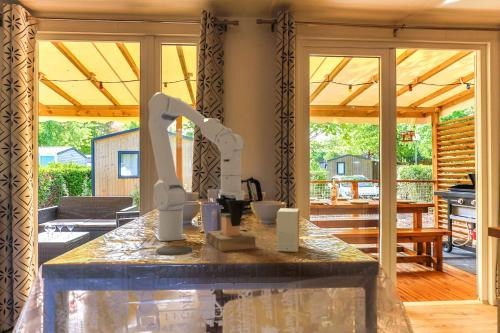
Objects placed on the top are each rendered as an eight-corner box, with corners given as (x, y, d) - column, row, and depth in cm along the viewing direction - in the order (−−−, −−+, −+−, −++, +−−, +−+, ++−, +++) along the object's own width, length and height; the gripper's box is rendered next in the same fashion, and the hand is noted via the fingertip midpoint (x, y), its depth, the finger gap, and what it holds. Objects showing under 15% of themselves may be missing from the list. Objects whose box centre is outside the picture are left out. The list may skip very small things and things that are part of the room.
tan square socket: (207, 241, 98) (207, 231, 98) (238, 239, 102) (239, 229, 102) (220, 251, 87) (220, 239, 87) (255, 247, 91) (255, 236, 91)
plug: (221, 244, 96) (221, 213, 96) (234, 242, 97) (234, 212, 97) (225, 247, 92) (226, 215, 92) (240, 245, 93) (240, 214, 94)
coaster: (153, 248, 89) (153, 247, 89) (187, 245, 93) (187, 244, 93) (159, 256, 81) (159, 254, 81) (195, 253, 85) (195, 251, 85)
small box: (297, 252, 86) (298, 211, 86) (276, 251, 87) (276, 211, 87) (299, 245, 94) (299, 208, 94) (279, 244, 95) (279, 207, 95)
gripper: (254, 176, 90) (254, 226, 90) (234, 175, 103) (234, 219, 103) (229, 176, 87) (229, 228, 87) (212, 175, 100) (212, 220, 100)
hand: (230, 223), depth 95 cm, fingers open, 7 cm apart
